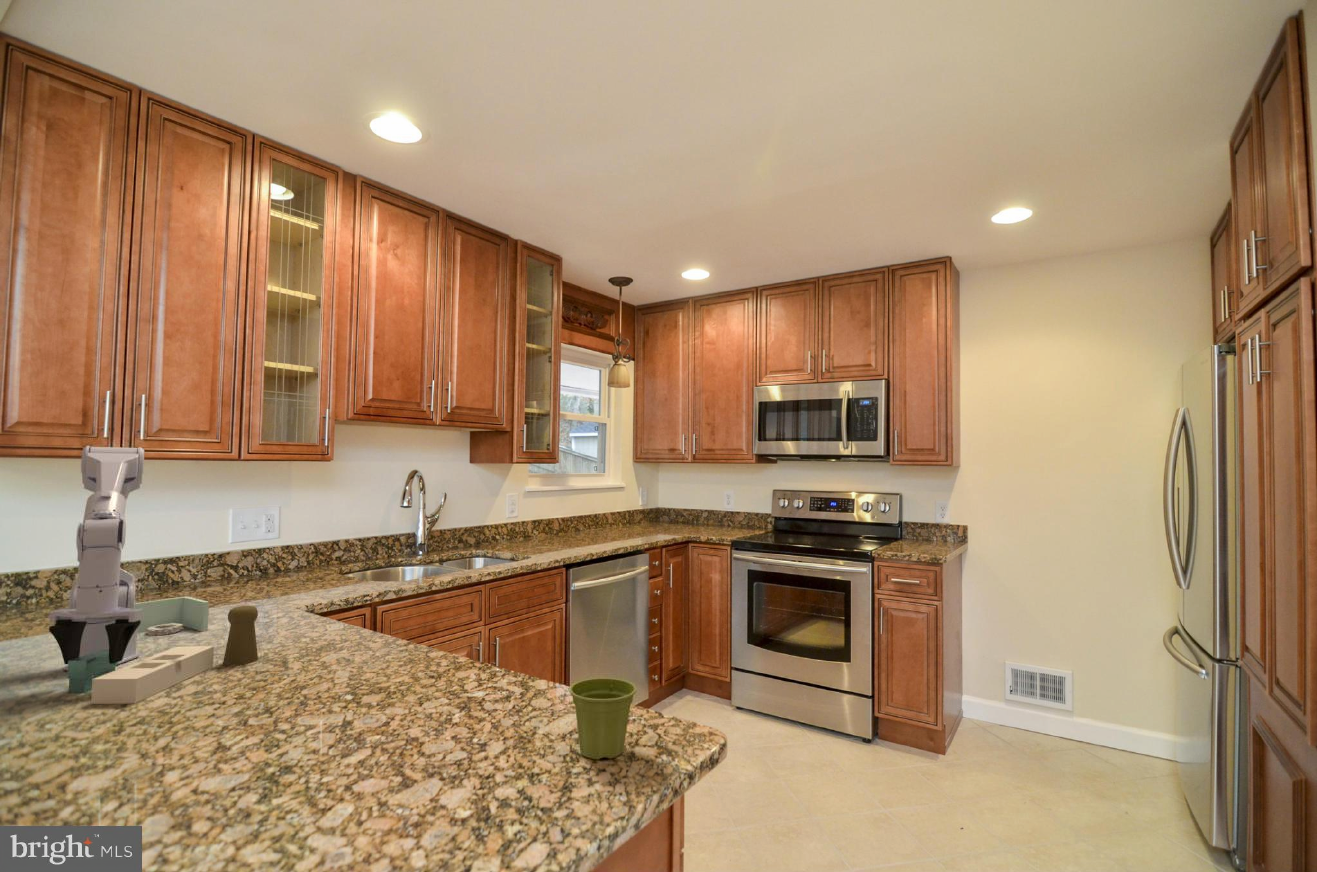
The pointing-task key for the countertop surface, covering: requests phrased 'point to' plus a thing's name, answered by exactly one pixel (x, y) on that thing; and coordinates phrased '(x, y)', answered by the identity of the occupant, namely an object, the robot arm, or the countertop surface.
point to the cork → (241, 636)
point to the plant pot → (602, 715)
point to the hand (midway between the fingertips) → (93, 662)
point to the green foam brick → (88, 670)
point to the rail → (151, 675)
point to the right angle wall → (173, 615)
